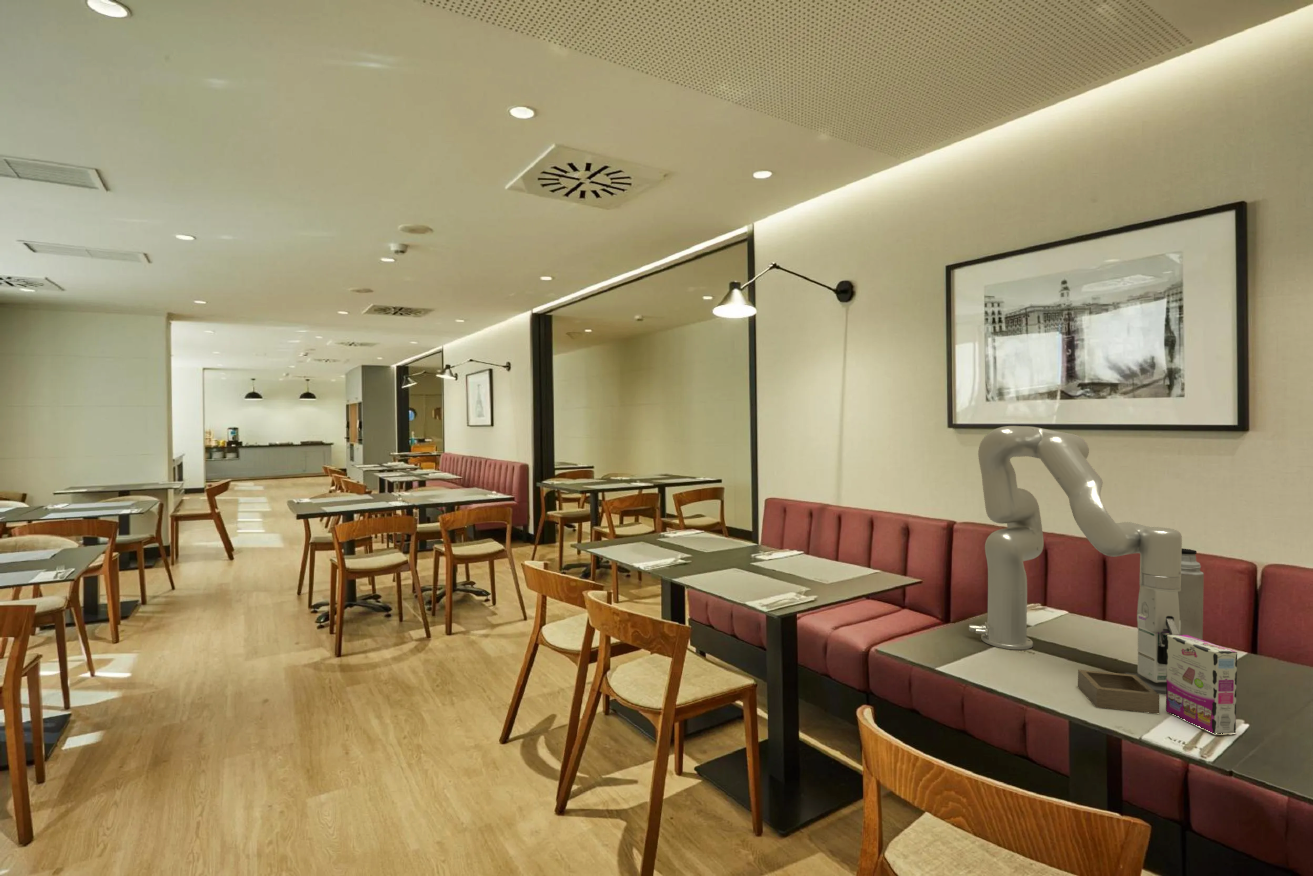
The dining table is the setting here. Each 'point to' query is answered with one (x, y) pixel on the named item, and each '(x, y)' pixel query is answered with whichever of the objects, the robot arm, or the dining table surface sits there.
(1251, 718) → the dining table surface
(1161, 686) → the mat
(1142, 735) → the dining table surface
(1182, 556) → the thermos bottle
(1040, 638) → the dining table surface
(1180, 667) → the candy bar box
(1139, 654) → the syrup box
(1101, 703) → the collar
